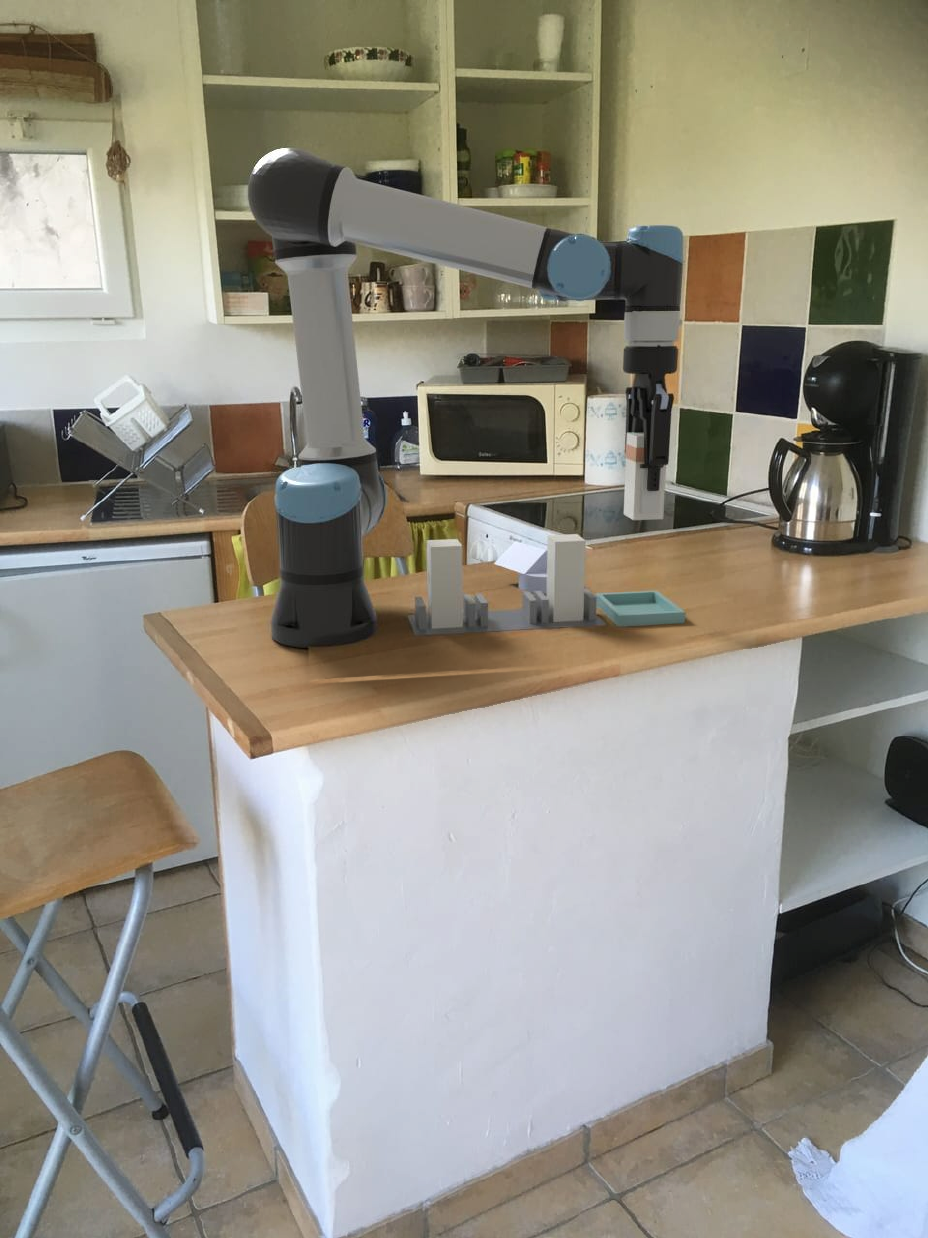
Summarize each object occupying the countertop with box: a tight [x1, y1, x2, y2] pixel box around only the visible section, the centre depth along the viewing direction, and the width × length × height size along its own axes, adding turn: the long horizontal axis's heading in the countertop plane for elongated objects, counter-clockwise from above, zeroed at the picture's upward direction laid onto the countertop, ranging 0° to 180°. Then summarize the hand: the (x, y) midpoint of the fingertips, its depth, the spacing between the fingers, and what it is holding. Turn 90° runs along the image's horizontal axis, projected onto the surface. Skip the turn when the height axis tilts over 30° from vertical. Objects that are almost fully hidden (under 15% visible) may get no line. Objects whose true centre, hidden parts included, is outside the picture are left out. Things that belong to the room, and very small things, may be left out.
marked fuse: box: [623, 432, 667, 521], centre depth 147 cm, size 5×5×12 cm
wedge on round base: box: [493, 540, 547, 595], centre depth 169 cm, size 9×7×13 cm
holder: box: [407, 587, 607, 637], centre depth 150 cm, size 28×10×4 cm, turn 99°
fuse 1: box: [426, 538, 464, 629], centre depth 147 cm, size 4×4×12 cm
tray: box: [594, 590, 686, 628], centre depth 153 cm, size 10×12×2 cm
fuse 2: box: [545, 533, 587, 622], centre depth 150 cm, size 4×4×12 cm
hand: (643, 508), depth 149 cm, fingers closed on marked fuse, 4 cm apart
